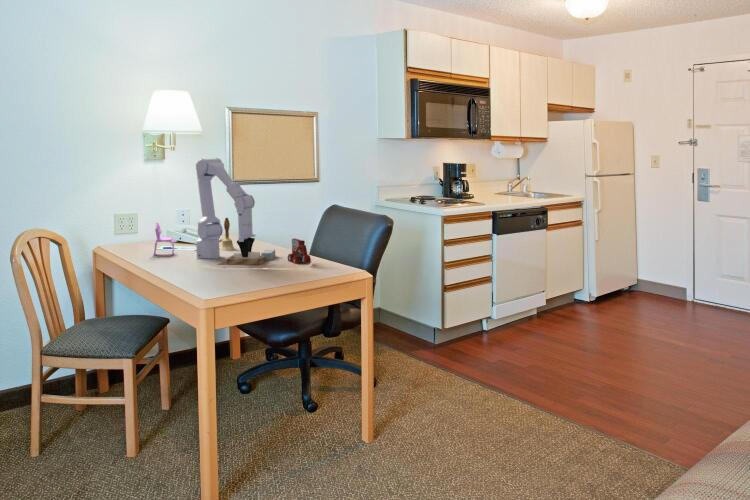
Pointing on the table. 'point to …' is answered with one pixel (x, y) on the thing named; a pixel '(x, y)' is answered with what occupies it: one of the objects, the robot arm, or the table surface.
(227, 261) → the jig
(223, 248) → the hand bell
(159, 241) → the toy chair
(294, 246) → the toy fire truck
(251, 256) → the tall white pillar block
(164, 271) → the table surface
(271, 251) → the pale blue rectangular block
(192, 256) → the table surface
